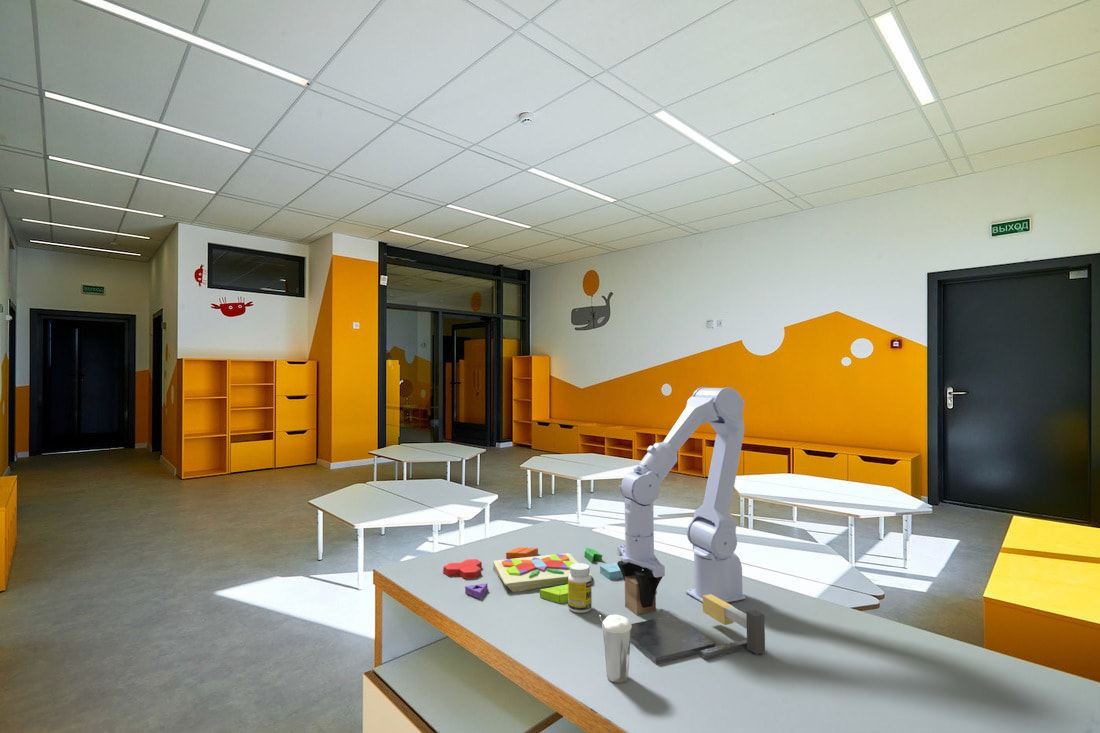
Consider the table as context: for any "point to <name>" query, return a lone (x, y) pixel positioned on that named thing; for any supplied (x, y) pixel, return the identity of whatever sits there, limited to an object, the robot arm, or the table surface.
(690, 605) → the table surface
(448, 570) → the pattern blocks set
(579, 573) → the supplement bottle
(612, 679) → the milkshake
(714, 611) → the lever with yellow grip
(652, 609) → the brown rectangular block
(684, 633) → the press base
